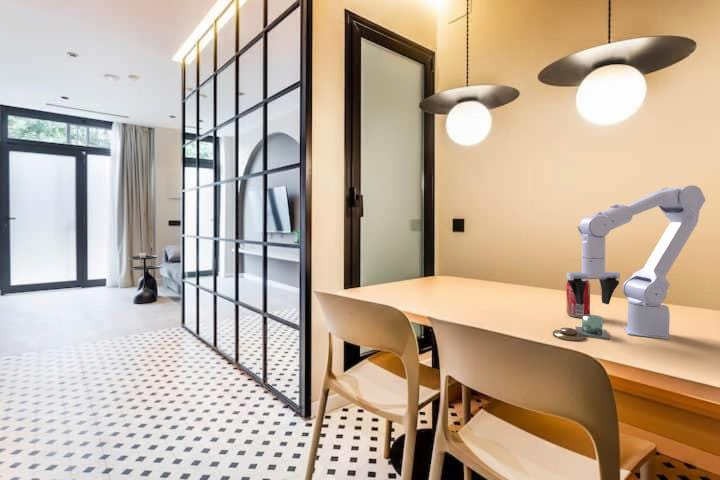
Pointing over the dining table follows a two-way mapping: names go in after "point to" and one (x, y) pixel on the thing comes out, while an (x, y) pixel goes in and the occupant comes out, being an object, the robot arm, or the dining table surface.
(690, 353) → the dining table surface
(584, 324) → the teal mug
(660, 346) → the dining table surface
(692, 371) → the dining table surface
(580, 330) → the coaster
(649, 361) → the dining table surface
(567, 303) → the soda can
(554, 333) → the bronze metal disc
